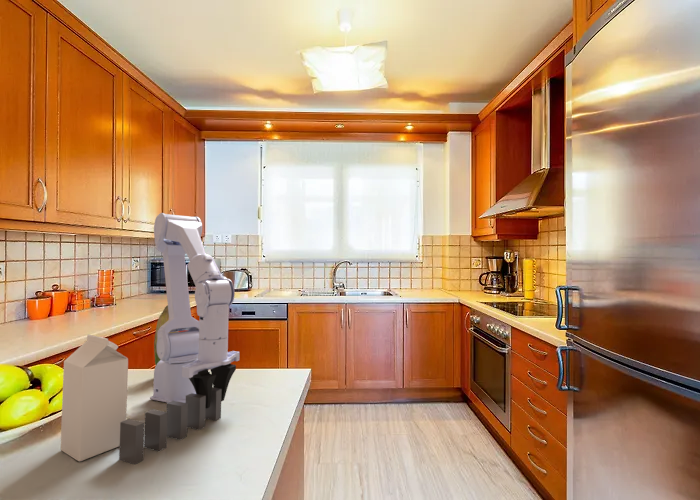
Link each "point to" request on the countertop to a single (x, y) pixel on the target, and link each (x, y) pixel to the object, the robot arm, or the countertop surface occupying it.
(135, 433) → the domino end
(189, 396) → the domino
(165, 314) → the vegetable
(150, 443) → the domino
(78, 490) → the countertop surface
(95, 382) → the milk carton
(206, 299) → the robot arm
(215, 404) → the domino
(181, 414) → the domino
